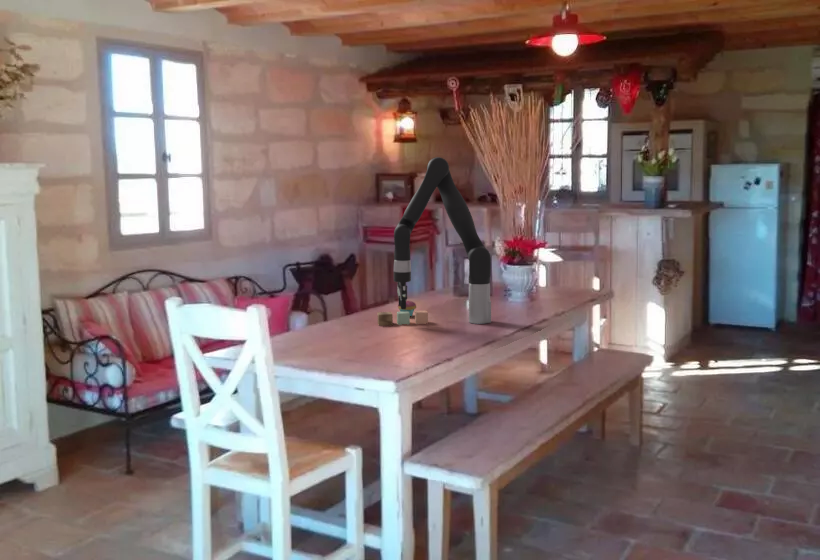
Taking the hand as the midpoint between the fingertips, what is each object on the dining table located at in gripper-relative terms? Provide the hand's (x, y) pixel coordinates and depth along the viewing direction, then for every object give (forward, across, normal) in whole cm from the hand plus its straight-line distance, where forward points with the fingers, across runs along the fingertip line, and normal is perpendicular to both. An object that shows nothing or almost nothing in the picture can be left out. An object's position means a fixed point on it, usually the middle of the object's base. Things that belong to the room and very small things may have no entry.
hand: (402, 307), depth 375 cm
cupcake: (+7, +18, -4) cm, 20 cm away
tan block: (+7, 0, -8) cm, 11 cm away
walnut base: (+7, 0, +8) cm, 11 cm away
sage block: (+7, 0, 0) cm, 7 cm away
